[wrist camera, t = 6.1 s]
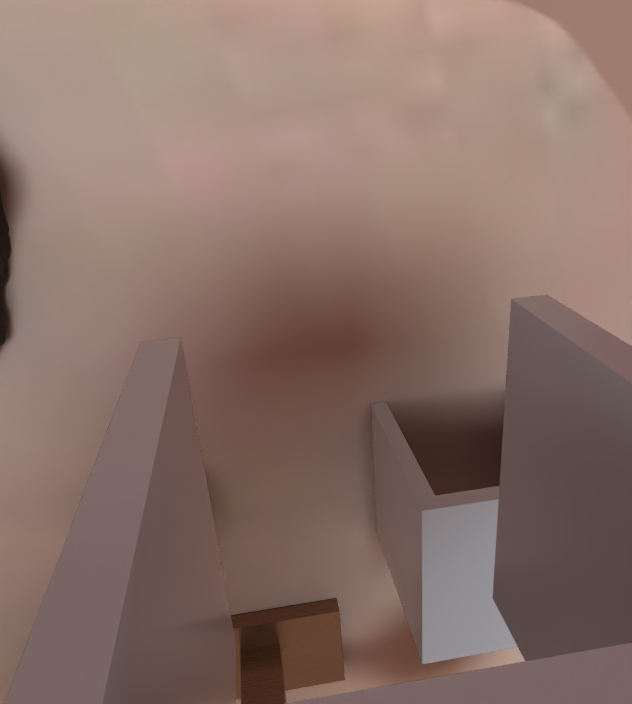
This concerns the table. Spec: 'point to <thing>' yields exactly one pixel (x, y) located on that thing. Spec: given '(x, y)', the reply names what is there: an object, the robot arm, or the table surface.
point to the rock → (3, 269)
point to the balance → (287, 650)
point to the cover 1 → (206, 568)
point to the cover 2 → (436, 551)
